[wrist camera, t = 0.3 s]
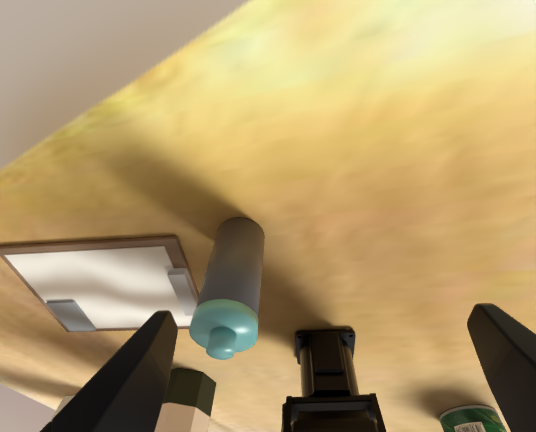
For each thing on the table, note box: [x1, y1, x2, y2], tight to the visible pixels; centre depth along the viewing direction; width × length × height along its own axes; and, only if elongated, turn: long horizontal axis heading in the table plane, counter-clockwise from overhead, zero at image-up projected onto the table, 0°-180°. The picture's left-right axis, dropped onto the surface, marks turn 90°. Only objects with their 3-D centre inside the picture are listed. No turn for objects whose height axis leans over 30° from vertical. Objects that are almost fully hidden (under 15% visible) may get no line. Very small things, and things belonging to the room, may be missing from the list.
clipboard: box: [0, 236, 199, 332], centre depth 29 cm, size 13×17×1 cm
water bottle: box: [189, 217, 265, 360], centre depth 21 cm, size 4×4×10 cm
